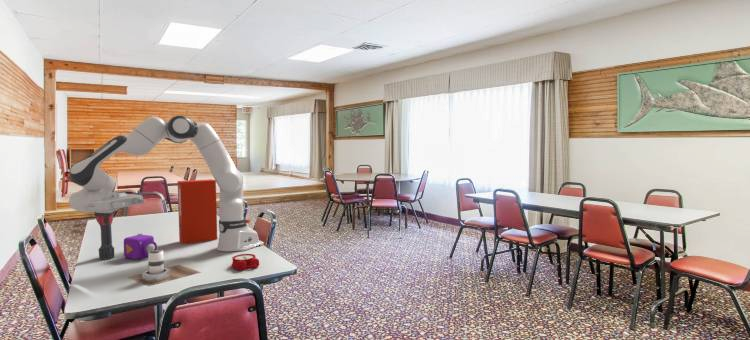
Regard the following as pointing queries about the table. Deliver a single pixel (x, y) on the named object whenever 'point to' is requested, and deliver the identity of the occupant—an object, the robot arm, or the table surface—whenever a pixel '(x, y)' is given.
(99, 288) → the table surface
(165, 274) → the ring
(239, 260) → the alarm clock
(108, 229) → the flashlight
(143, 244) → the toy camera
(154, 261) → the white lens
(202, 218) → the file binder
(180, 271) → the walnut mount plate
